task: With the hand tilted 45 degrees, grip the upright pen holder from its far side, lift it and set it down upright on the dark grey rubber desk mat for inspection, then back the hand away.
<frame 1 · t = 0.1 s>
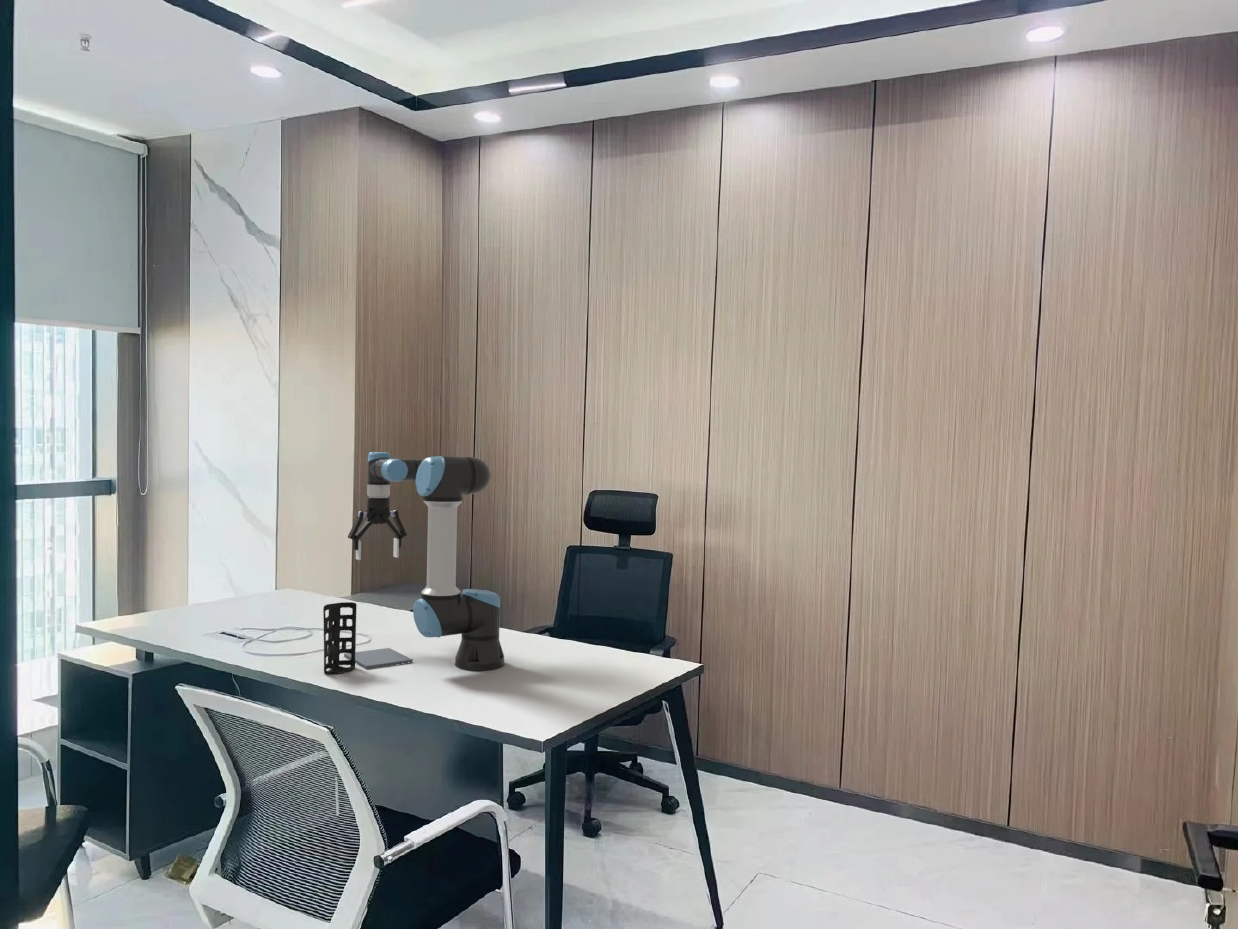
hand: (377, 558, 307), 28 cm above the table, tool pointing down, fingers open, 13 cm apart
holder: (338, 671, 266), on the table
mat: (378, 659, 280), on the table
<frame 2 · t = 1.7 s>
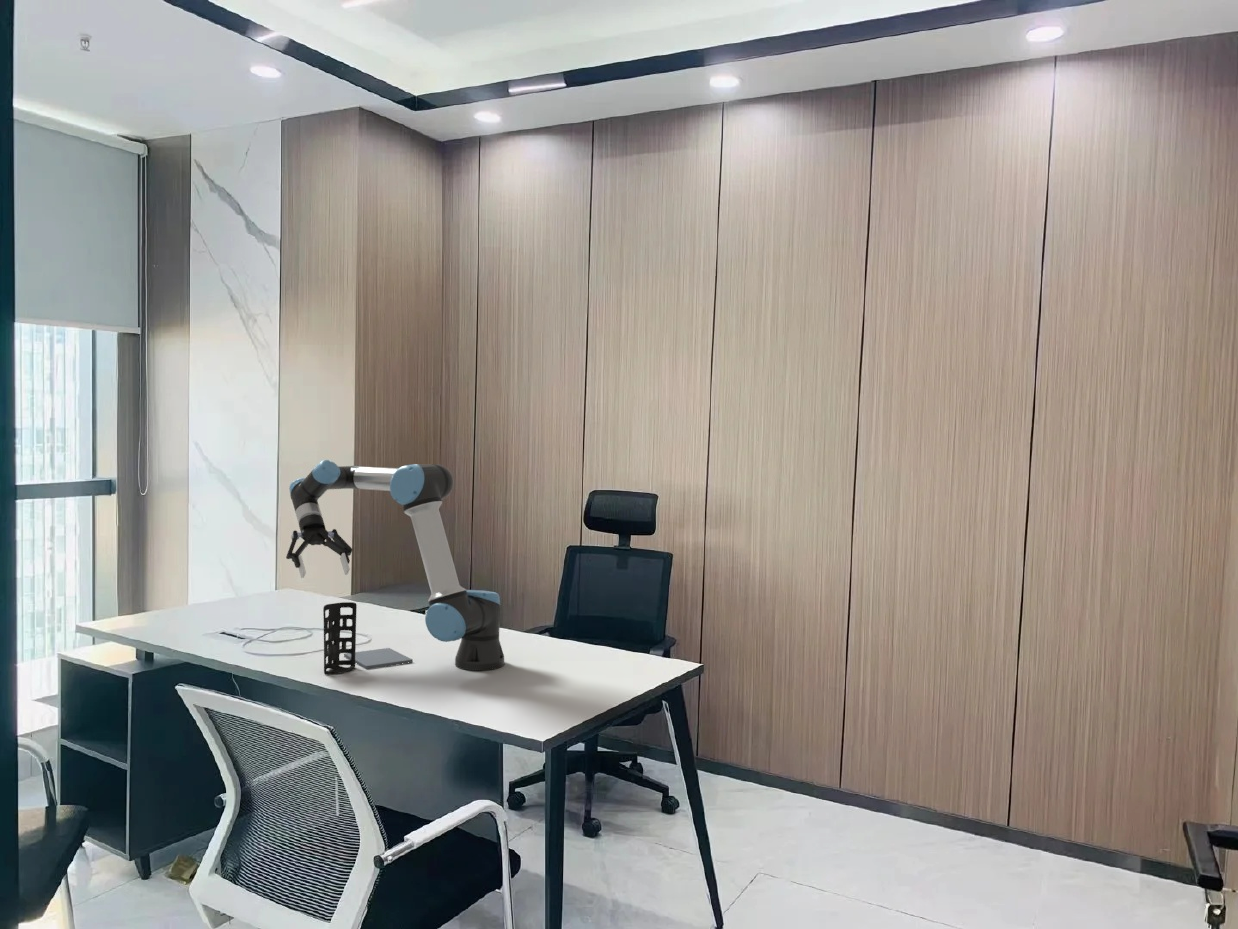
hand: (325, 573, 274), 27 cm above the table, tool tilted 45°, fingers open, 13 cm apart
nothing on the table moved.
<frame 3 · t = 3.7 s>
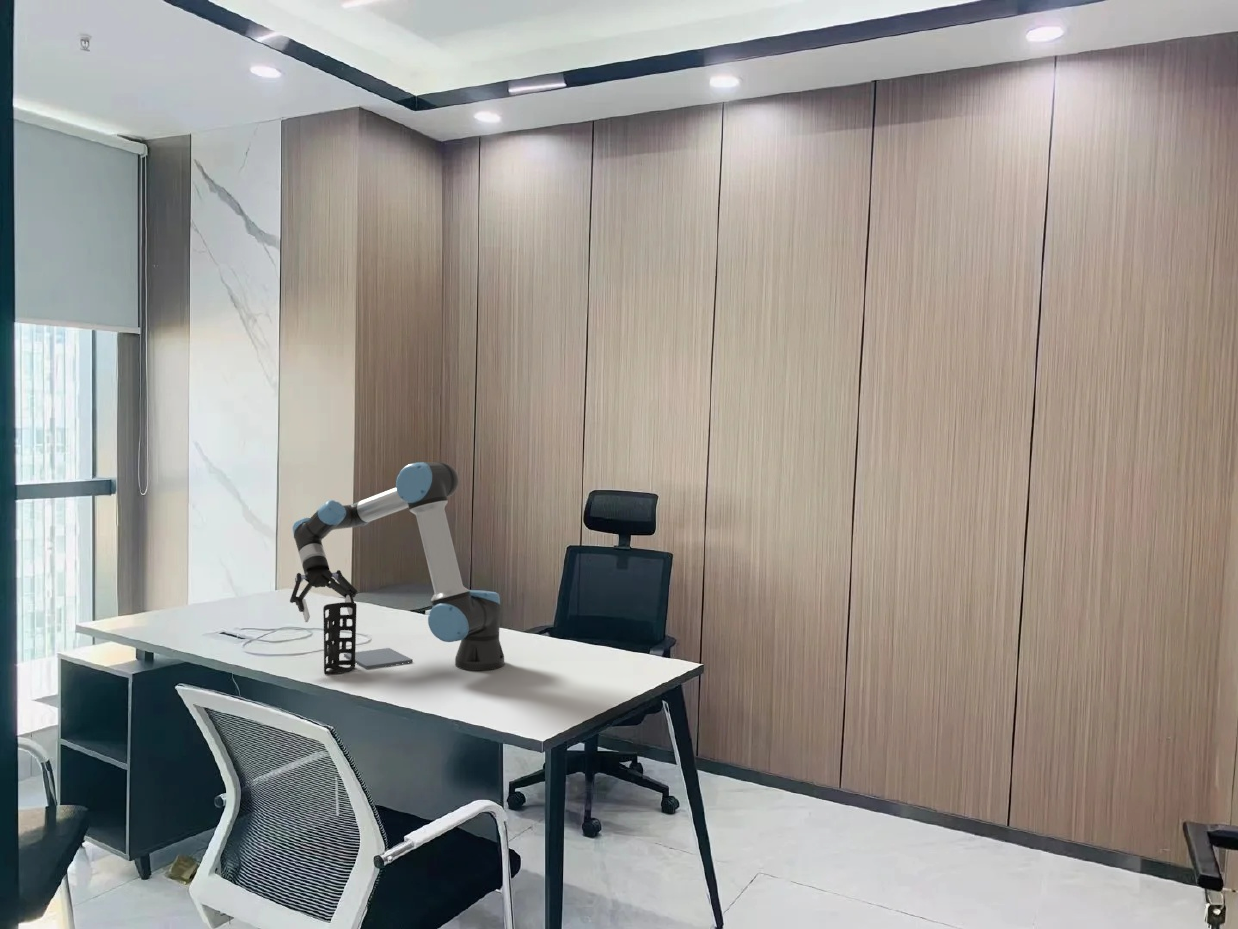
hand: (330, 617, 269), 15 cm above the table, tool tilted 45°, fingers open, 13 cm apart
nothing on the table moved.
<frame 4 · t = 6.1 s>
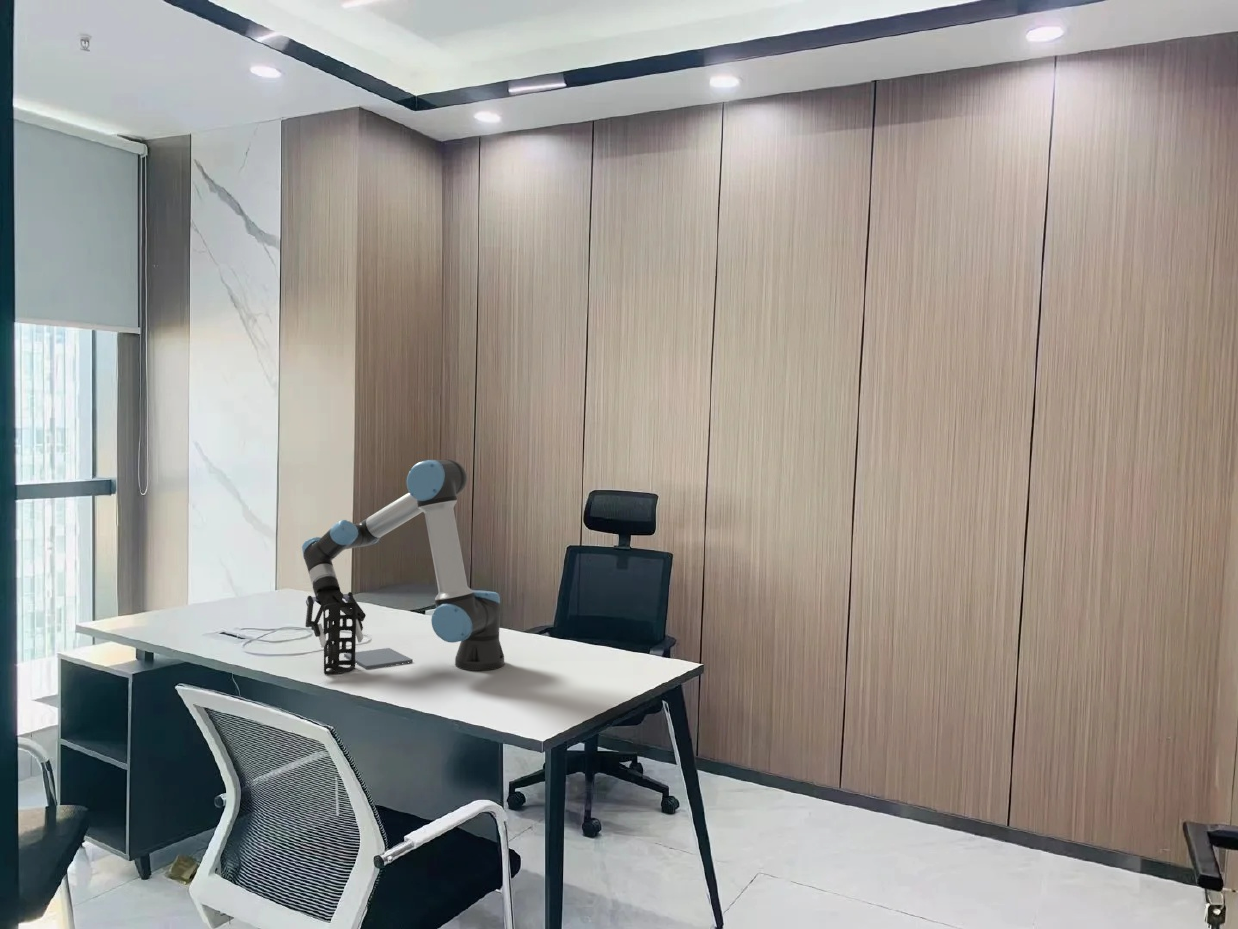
hand: (342, 642, 263), 9 cm above the table, tool tilted 45°, fingers closed on holder, 10 cm apart
holder: (337, 671, 266), on the table, touching gripper
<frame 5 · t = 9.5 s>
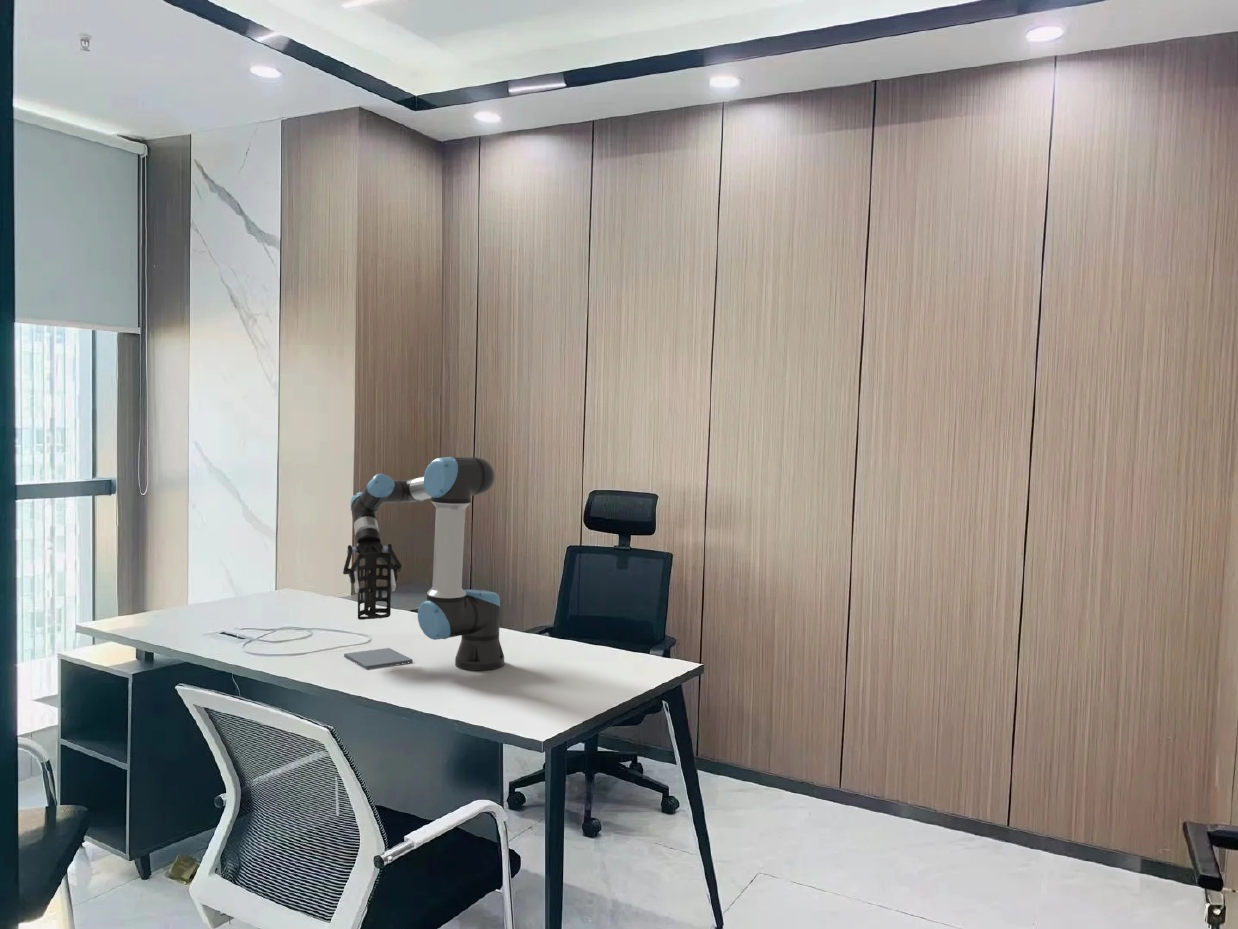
hand: (375, 589, 274), 23 cm above the table, tool tilted 45°, fingers closed on holder, 10 cm apart
holder: (372, 618, 277), point 14 cm above the table, touching gripper
when the fingers open (11 cm above the table, at t = 13.0 s): holder stays where it is, resting on mat.
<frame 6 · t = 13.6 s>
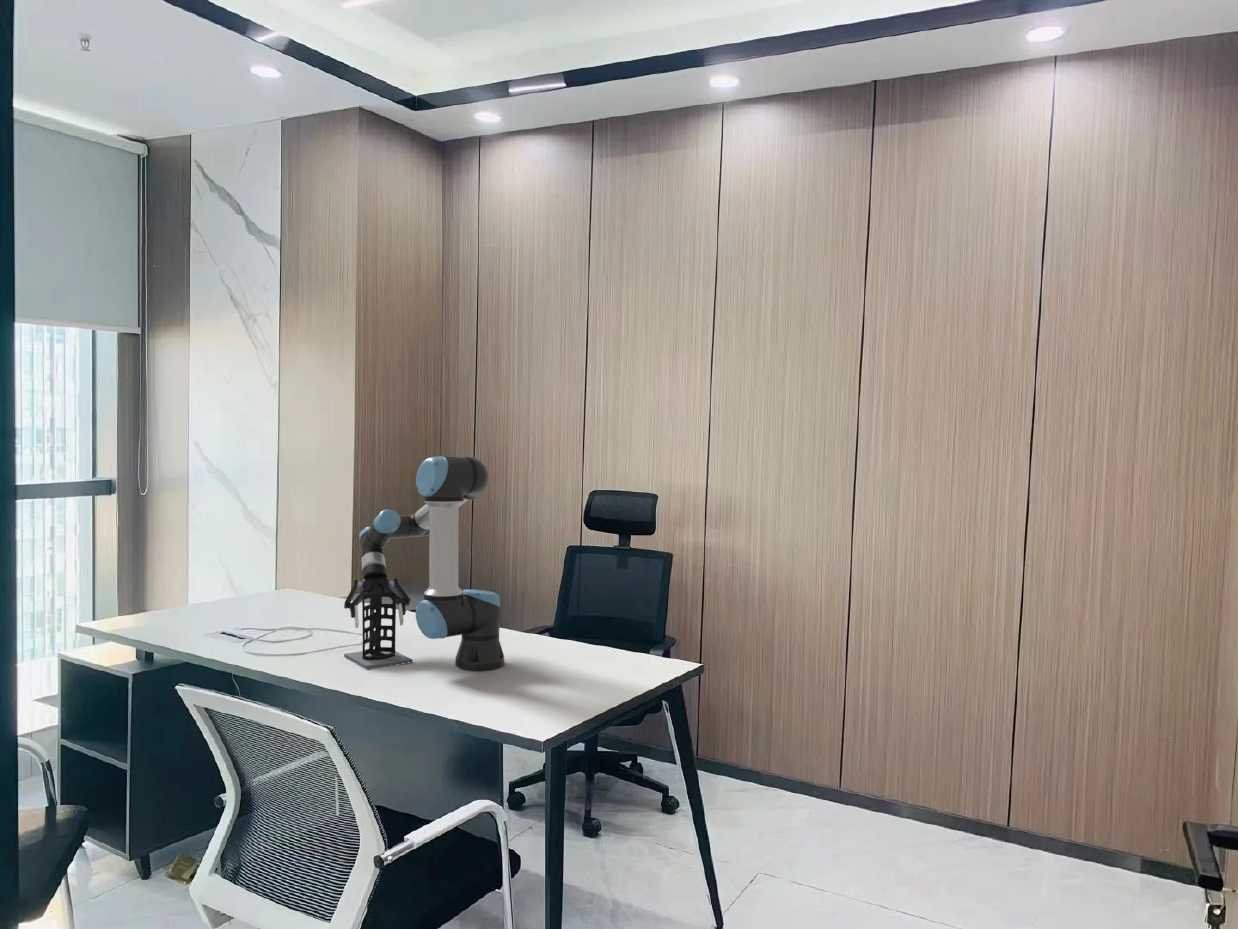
hand: (379, 624, 277), 12 cm above the table, tool tilted 45°, fingers open, 13 cm apart
holder: (377, 657, 279), point 1 cm above the table, touching mat
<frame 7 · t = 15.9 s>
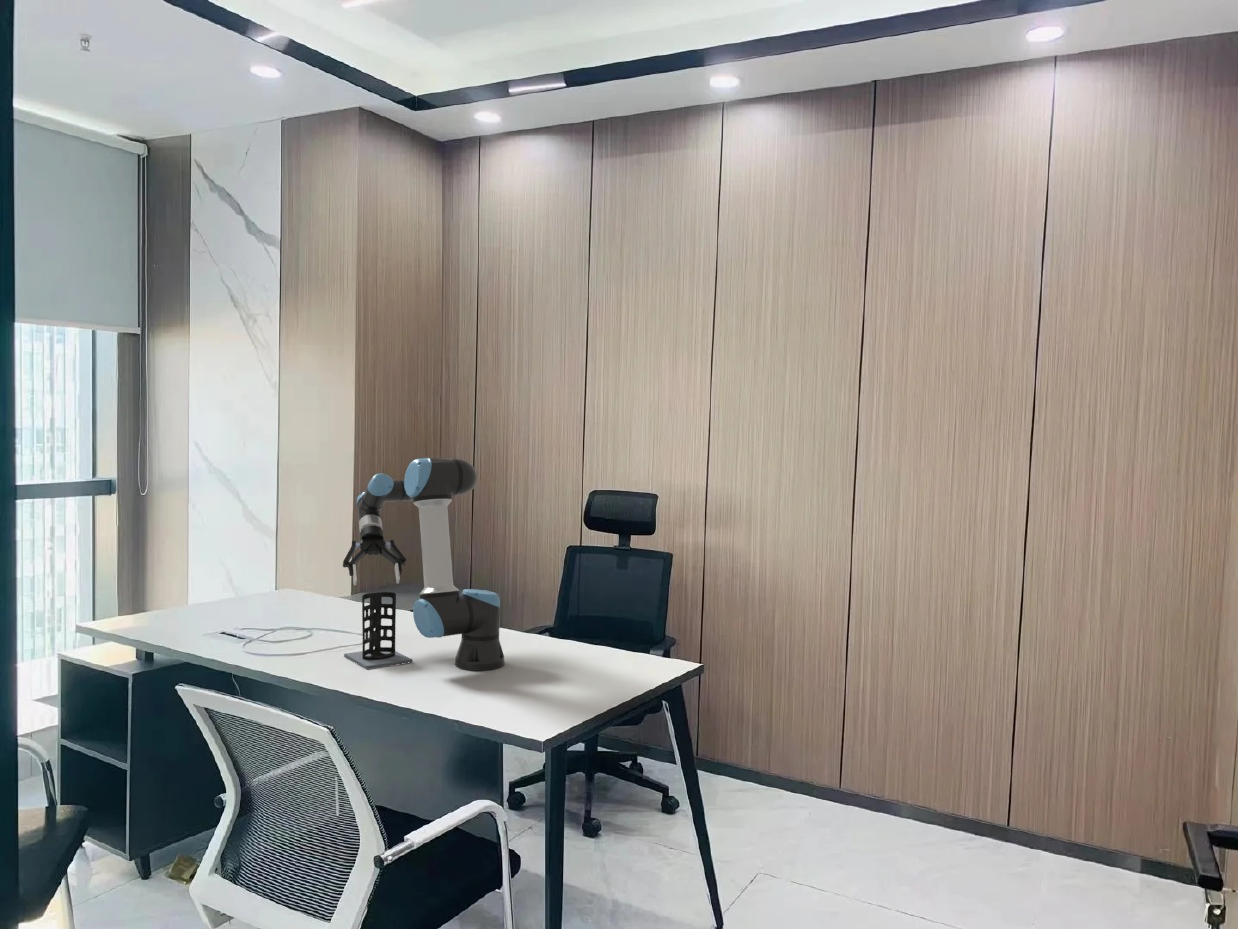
hand: (376, 582, 289), 23 cm above the table, tool tilted 45°, fingers open, 13 cm apart
nothing on the table moved.
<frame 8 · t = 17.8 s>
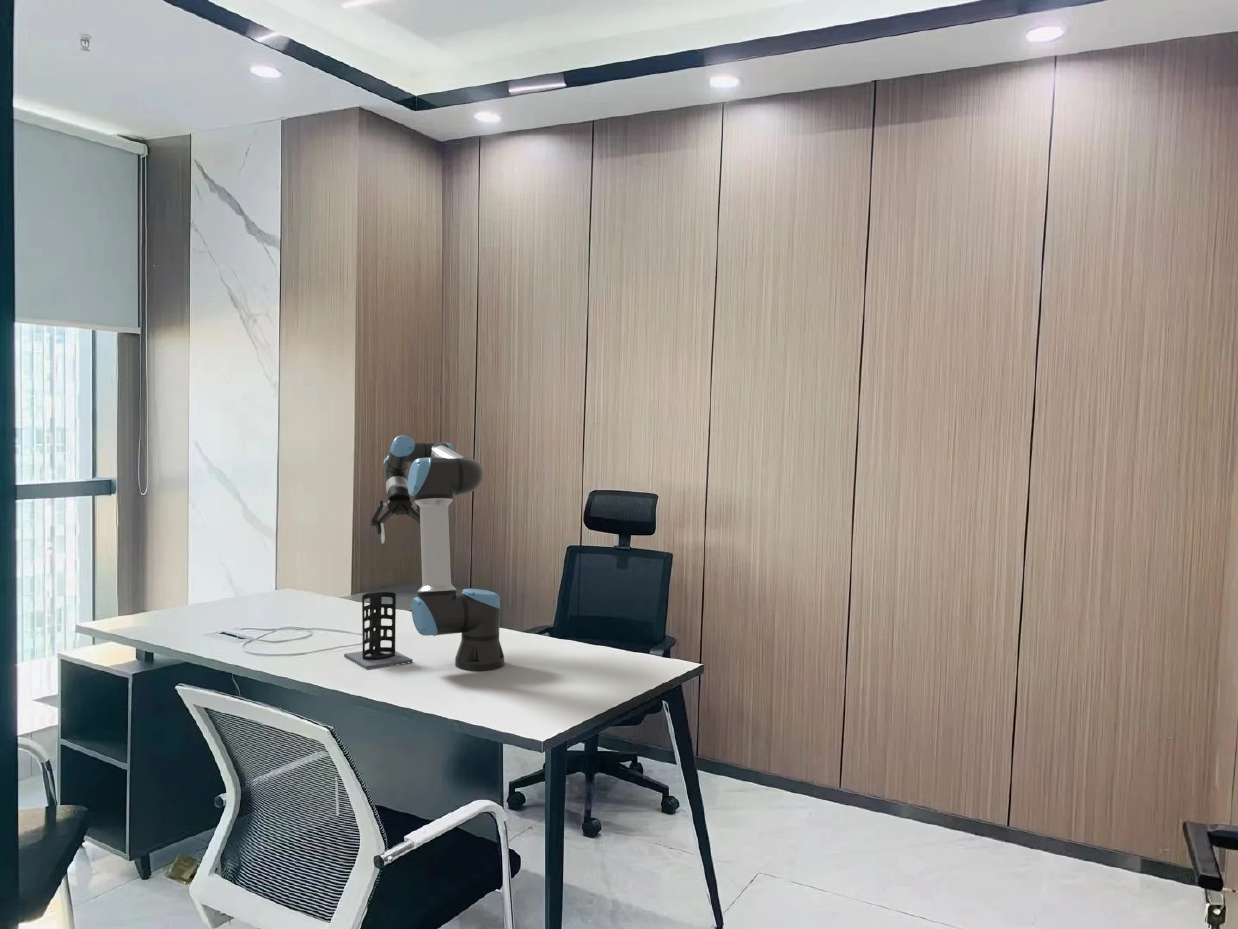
hand: (404, 540, 296), 36 cm above the table, tool tilted 45°, fingers open, 13 cm apart
nothing on the table moved.
at the end: holder inside the target area on the mat (0.2 cm from its centre), point 0.8 cm above the mat's base; holder tilted 0°; the gripper is holding nothing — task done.
